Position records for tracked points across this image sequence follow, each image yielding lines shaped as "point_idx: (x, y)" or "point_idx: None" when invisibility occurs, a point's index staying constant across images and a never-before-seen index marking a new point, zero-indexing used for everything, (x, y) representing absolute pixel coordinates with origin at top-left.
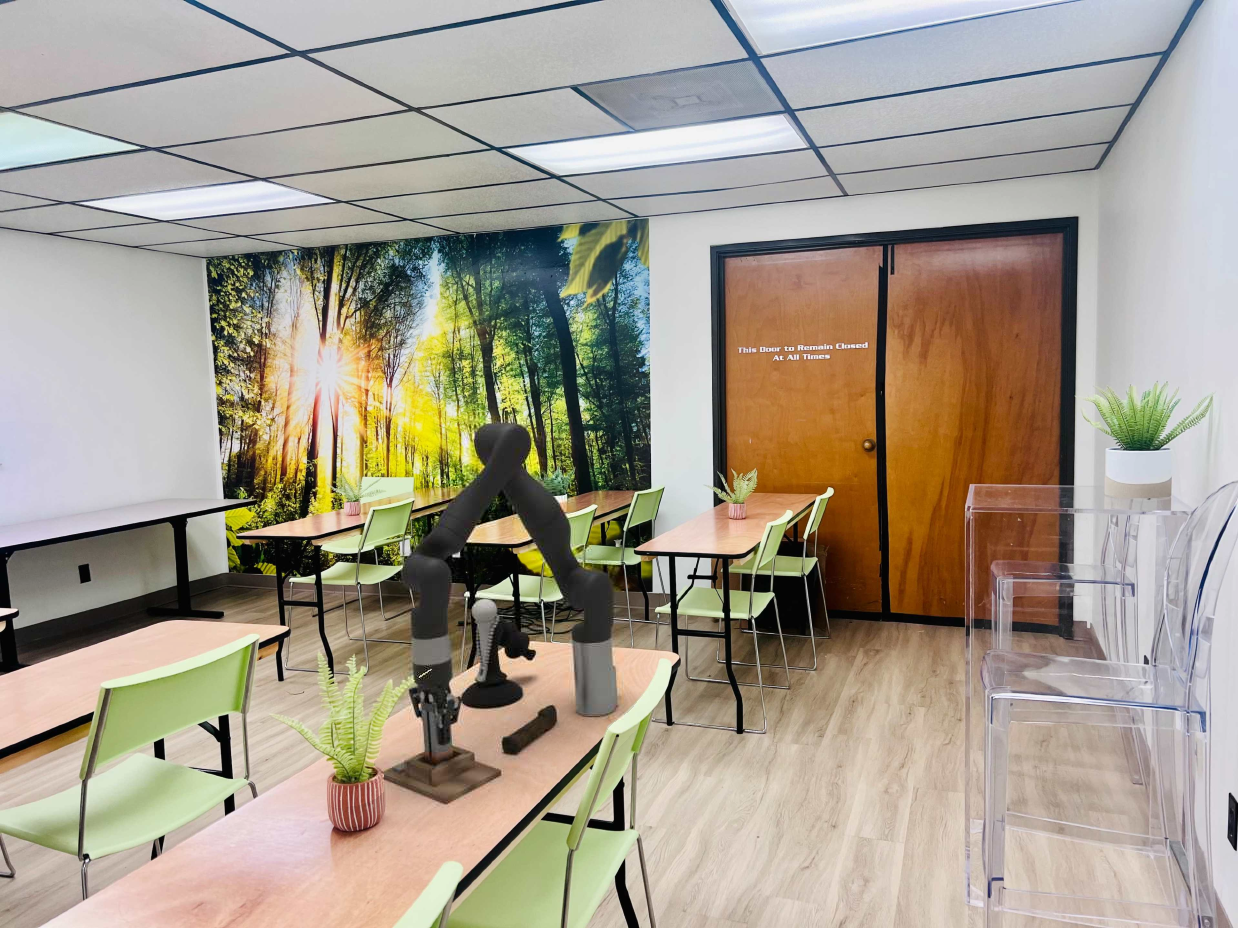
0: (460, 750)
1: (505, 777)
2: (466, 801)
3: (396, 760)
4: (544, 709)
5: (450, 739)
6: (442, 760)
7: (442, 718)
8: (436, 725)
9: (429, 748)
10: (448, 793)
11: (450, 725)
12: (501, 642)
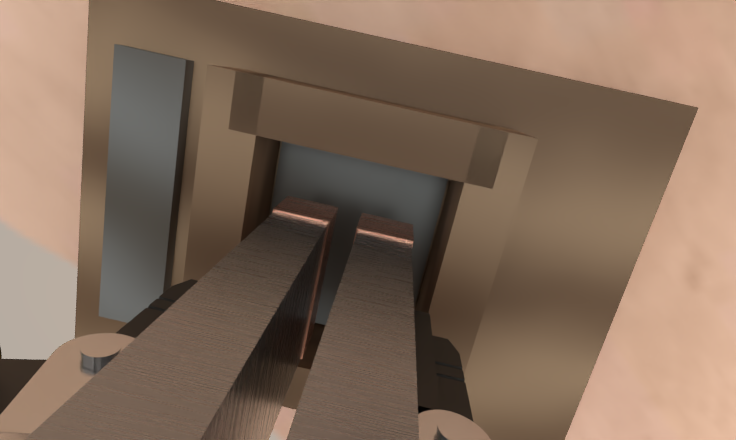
0: (414, 142)
1: (720, 125)
2: (631, 397)
3: (3, 161)
4: None
5: (455, 349)
6: (278, 142)
7: None
8: None
9: (295, 367)
10: (538, 414)
11: (412, 333)
12: None
